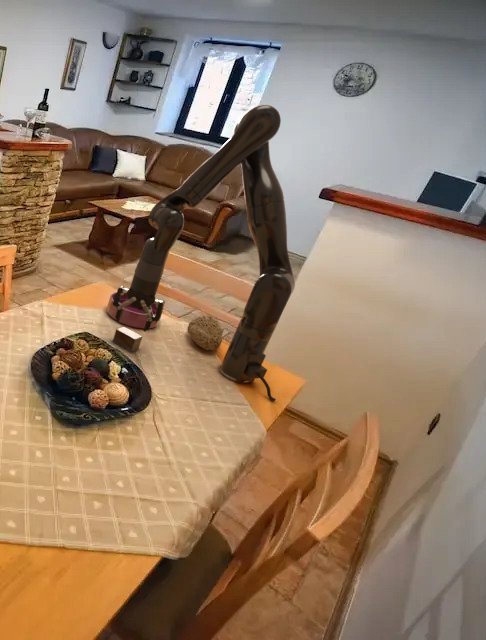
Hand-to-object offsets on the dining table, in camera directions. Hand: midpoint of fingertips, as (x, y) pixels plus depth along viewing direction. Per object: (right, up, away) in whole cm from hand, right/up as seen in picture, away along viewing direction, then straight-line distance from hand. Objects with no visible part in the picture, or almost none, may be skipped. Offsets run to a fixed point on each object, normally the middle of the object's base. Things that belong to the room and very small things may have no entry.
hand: (131, 325), depth 150 cm
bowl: (+6, +3, +24) cm, 25 cm away
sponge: (+28, -5, +17) cm, 33 cm away
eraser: (-1, -6, +4) cm, 7 cm away
